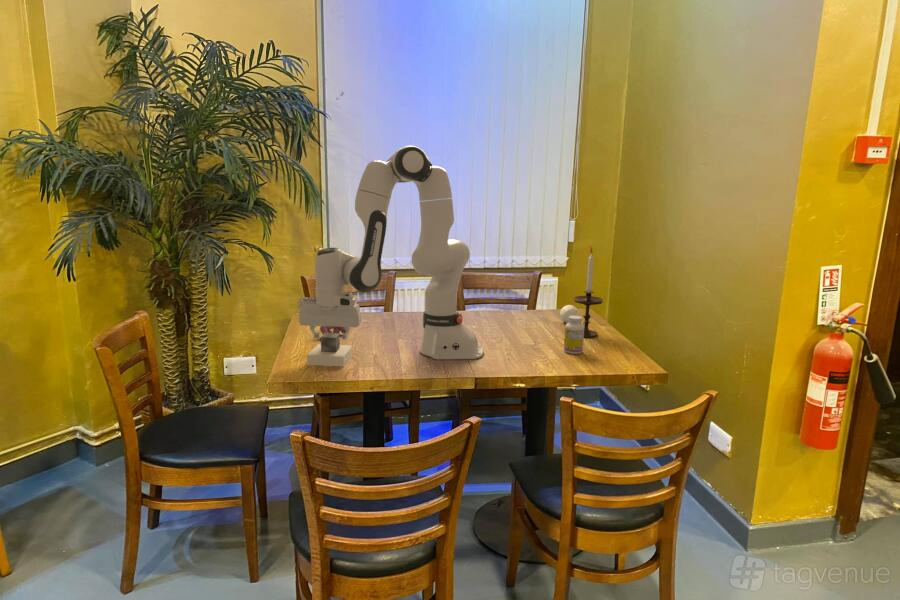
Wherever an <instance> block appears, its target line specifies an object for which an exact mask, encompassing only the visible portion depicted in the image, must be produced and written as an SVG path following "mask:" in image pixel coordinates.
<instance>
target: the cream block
mask: <svg viewBox="0 0 900 600" xmlns="http://www.w3.org/2000/svg"><path fill="white" fill-rule="evenodd" d="M353 348H354V347H353V345H350V344H349V345H344V344H340V348H339V349H338V351H337V352H321V343H317V344H316V346H314V348H313V349H311V351H310V352H308V354H306V355H307V356H306V357H307V360H306V361H307V366H313V365H323V366H322V367H332V366H337V367H336V368H344V367H345V366H346V365H347V364H346V363H349V361H350V360H351V359H352V357H353V355H354V353H353V352H354V351H353V350H354V349H353ZM349 359H350V360H349ZM345 364H346V365H345ZM338 366H340V367H338Z"/></svg>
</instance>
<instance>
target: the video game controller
mask: <svg viewBox="0 0 900 600" xmlns="http://www.w3.org/2000/svg"><path fill="white" fill-rule="evenodd" d="M332 330H333V331H332ZM319 331H320V332H321V334H322V335H323V334H324V333H336V334H339V335H340V332H341V333H342V334H343V333H346V331H347V330H345V327H335V326H319ZM348 335H349V333H348V334H347V336H348Z"/></svg>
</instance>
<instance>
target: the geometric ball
mask: <svg viewBox="0 0 900 600" xmlns="http://www.w3.org/2000/svg"><path fill="white" fill-rule="evenodd" d="M559 313H560V314H559V317H560V319H561V321H563V322H564V323H565V324H567V323H569V320H568V319H569V316H573V315H574V316H580V312H579V309H578V308H577V307H575V306H574V305H571V304H567V305H564V306H563V307H562V308H561V309H560V311H559Z"/></svg>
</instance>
